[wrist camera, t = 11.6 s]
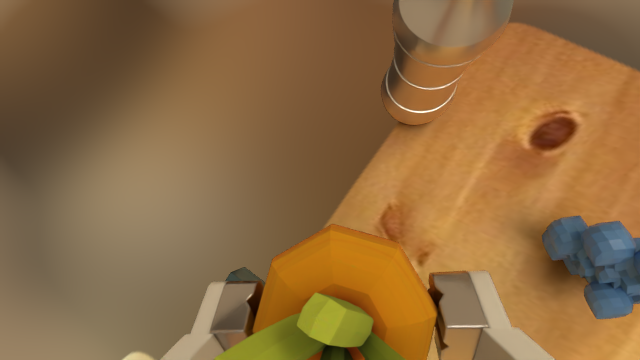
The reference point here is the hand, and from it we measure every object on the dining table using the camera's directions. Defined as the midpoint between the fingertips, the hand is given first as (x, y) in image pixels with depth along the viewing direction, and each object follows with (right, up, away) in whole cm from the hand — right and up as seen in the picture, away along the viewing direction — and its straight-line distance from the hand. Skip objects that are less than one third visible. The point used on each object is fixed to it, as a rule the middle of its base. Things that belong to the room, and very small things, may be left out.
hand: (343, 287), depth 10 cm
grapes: (+22, -5, +20) cm, 30 cm away
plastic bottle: (+9, +11, +24) cm, 28 cm away
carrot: (+1, -2, +9) cm, 9 cm away
